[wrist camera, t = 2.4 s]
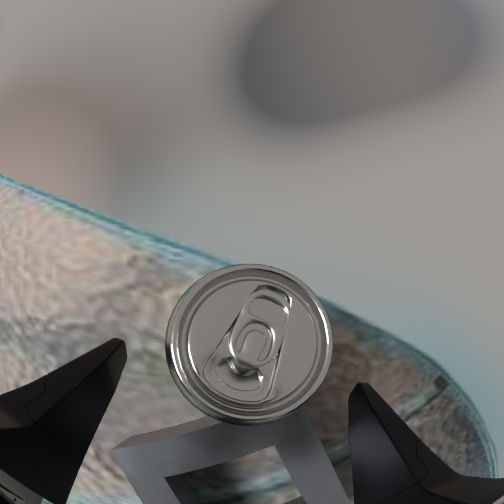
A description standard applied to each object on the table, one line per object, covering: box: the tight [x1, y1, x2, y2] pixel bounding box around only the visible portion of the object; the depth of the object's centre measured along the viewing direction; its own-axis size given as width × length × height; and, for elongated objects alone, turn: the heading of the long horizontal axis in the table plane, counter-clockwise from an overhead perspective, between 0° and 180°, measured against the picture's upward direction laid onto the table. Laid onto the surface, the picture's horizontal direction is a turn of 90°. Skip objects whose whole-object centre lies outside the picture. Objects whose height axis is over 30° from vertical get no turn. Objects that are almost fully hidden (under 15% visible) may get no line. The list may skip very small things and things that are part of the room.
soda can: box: [165, 264, 333, 426], centre depth 12 cm, size 5×5×12 cm
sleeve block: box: [112, 406, 351, 504], centre depth 12 cm, size 12×12×4 cm
